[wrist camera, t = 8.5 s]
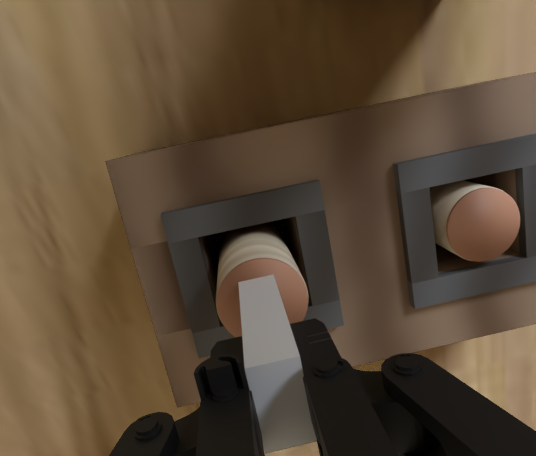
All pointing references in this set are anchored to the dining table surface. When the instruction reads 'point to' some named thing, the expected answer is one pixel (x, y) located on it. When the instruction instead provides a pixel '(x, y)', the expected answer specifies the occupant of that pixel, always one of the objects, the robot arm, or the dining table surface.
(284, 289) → the peg
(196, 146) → the socket block
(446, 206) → the peg
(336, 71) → the dining table surface
